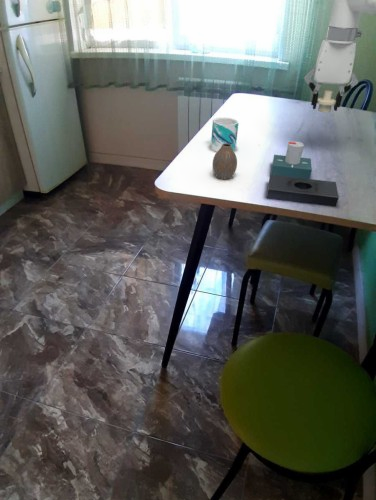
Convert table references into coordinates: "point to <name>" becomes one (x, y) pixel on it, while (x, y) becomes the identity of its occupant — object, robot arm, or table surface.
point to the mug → (224, 133)
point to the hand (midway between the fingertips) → (324, 108)
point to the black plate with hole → (302, 190)
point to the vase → (225, 162)
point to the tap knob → (294, 152)
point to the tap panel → (291, 167)
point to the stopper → (326, 101)
